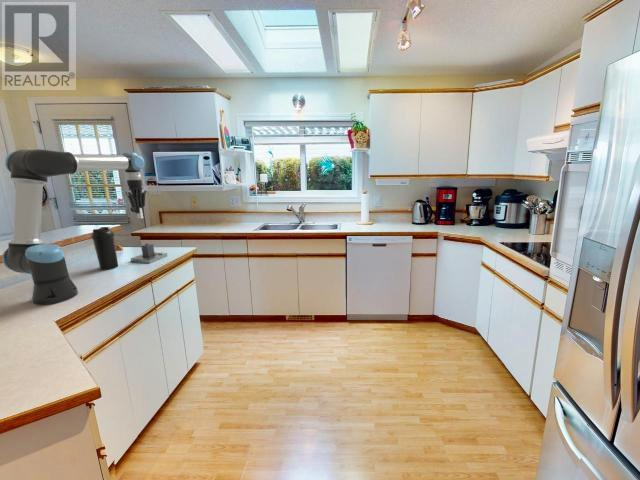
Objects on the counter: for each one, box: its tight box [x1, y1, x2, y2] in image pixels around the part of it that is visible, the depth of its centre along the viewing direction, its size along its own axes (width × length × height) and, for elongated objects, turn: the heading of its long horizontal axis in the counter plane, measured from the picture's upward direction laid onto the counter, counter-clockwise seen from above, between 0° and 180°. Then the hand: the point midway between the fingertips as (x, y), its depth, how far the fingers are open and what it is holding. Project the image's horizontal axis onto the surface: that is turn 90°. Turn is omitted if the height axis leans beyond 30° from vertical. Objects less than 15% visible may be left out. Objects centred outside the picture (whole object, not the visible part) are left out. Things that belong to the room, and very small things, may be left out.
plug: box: [140, 242, 155, 258], centre depth 183 cm, size 4×4×10 cm
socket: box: [130, 251, 168, 264], centre depth 184 cm, size 14×14×3 cm
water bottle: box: [91, 226, 119, 271], centre depth 167 cm, size 10×10×23 cm
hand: (140, 218), depth 184 cm, fingers closed
